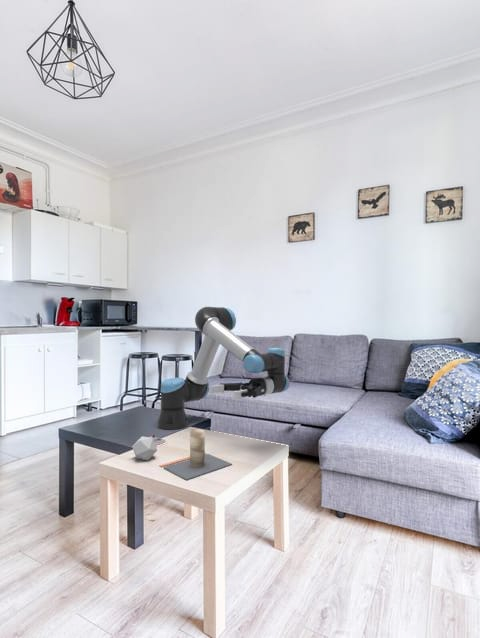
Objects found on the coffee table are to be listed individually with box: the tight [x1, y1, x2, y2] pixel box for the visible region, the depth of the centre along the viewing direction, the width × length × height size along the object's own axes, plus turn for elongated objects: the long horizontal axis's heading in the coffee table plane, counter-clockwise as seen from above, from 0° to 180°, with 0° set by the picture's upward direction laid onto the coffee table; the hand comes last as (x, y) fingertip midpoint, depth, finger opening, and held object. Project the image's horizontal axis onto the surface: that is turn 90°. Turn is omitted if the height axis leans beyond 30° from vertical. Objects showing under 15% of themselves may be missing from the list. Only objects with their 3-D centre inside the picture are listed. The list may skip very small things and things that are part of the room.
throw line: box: [159, 452, 207, 468], centre depth 138 cm, size 20×2×1 cm, turn 133°
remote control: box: [144, 434, 167, 447], centre depth 159 cm, size 7×16×3 cm, turn 50°
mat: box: [163, 453, 233, 482], centre depth 132 cm, size 20×14×1 cm
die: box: [132, 436, 158, 461], centre depth 140 cm, size 8×9×10 cm
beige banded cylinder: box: [189, 428, 206, 468], centre depth 132 cm, size 5×5×12 cm
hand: (221, 392), depth 139 cm, fingers open, 13 cm apart
